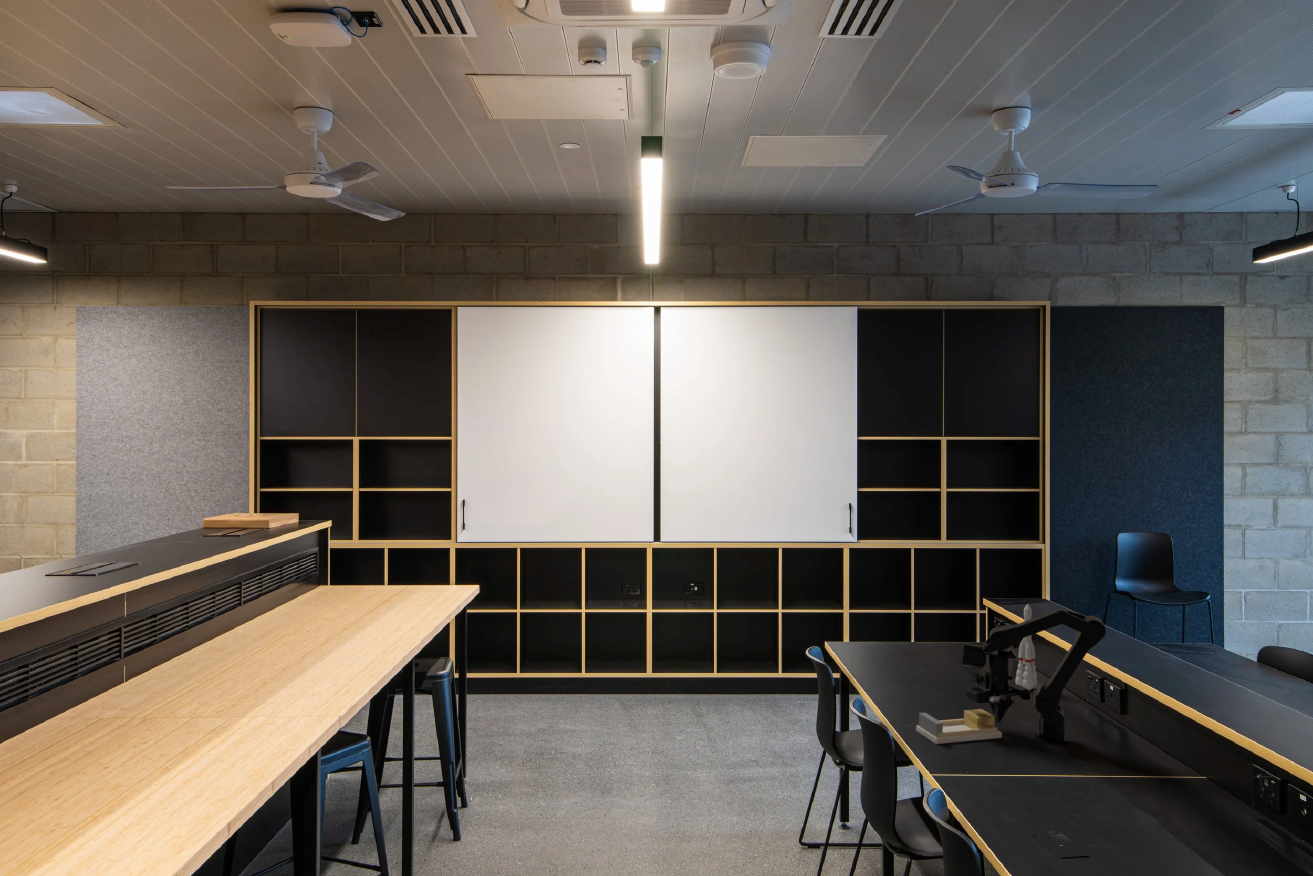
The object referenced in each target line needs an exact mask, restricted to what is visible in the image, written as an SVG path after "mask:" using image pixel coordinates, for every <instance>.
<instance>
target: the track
mask: <svg viewBox="0 0 1313 876" xmlns="http://www.w3.org/2000/svg"><path fill="white" fill-rule="evenodd" d="M918 715H919V716H918V717H919V718H918V725H915V730H916V732H917V733H919V734H921V735H922V736H924V737H925V738H926V739H929V741H931V742H933V743H934V745H939V744H950V743H961V742H969V741H970V742H972V741H981V740H982V741H984V740H992V739H1002V738H1003V737H1002V736H1003V732H1002V731H1000V730H998V727H996V726H994V727H989V728H978V729H972V728H970V727H969V726H967V725H965V724H964V718H955V719H944V720H943V719H942V720H938V719H936V718H935V717H933V716H932V715H930V714H928V713H927V712H918Z"/></svg>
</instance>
